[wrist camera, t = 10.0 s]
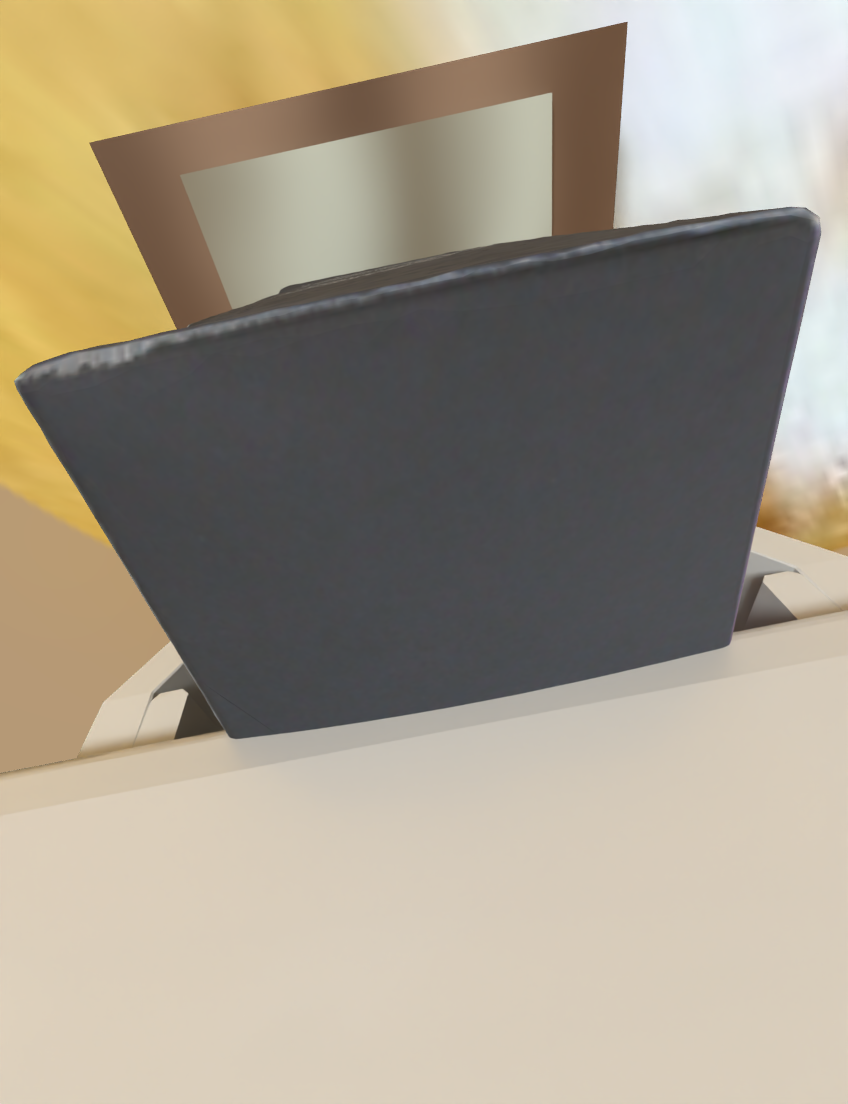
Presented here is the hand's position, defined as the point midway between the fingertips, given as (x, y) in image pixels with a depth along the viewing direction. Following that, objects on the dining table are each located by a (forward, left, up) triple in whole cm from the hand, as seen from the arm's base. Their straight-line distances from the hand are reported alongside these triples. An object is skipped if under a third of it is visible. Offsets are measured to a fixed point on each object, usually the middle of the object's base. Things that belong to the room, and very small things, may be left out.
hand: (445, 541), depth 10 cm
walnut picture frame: (0, 0, -12) cm, 12 cm away
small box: (0, +1, -5) cm, 5 cm away
